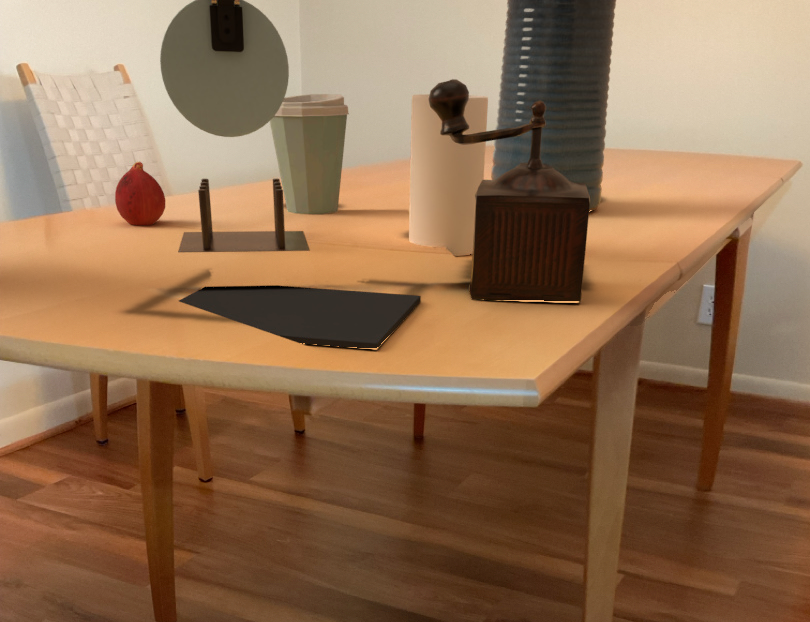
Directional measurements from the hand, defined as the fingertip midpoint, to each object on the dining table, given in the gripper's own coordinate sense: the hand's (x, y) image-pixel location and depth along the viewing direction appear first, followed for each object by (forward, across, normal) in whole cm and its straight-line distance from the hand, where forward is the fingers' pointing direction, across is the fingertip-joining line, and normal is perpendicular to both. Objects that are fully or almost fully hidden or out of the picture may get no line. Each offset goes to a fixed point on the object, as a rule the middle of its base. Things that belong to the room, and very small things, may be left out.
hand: (228, 50), depth 94 cm
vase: (+19, -30, +45) cm, 57 cm away
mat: (+20, +29, +4) cm, 36 cm away
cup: (+20, +1, +24) cm, 31 cm away
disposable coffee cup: (+20, -22, +10) cm, 31 cm away
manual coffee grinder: (+20, +20, +25) cm, 38 cm away
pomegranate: (+20, -13, -11) cm, 26 cm away
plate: (+8, 0, 0) cm, 8 cm away
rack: (+20, 0, +1) cm, 20 cm away
